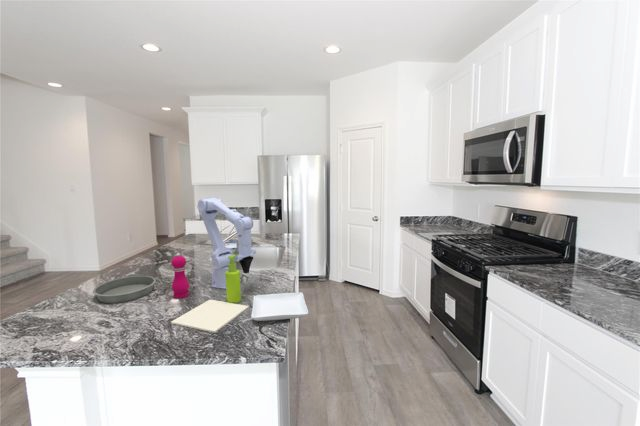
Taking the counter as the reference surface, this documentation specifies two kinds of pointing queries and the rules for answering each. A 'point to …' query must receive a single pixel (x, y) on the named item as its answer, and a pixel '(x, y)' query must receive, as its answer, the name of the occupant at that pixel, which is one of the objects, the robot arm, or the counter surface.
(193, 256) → the counter surface
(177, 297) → the pepper mill
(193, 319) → the mat
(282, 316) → the salad plate
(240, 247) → the robot arm
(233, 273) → the soap dispenser
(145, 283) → the cake pan
